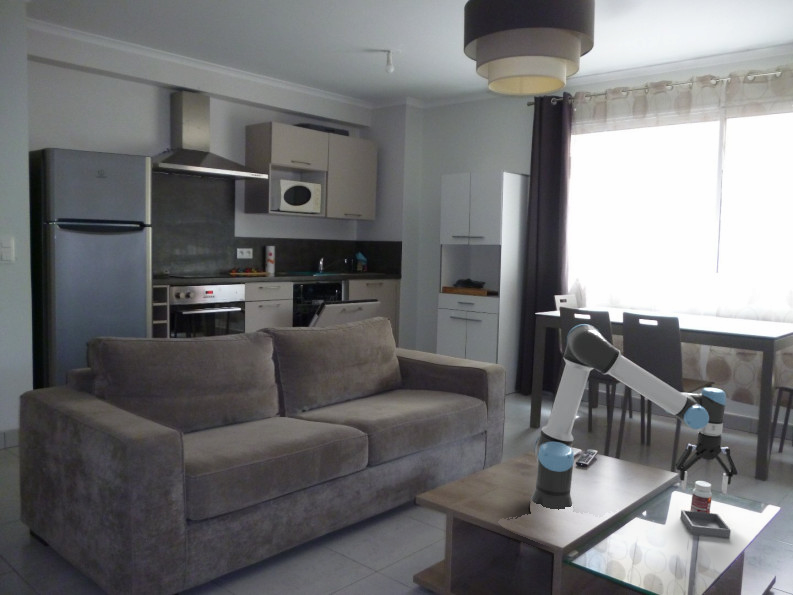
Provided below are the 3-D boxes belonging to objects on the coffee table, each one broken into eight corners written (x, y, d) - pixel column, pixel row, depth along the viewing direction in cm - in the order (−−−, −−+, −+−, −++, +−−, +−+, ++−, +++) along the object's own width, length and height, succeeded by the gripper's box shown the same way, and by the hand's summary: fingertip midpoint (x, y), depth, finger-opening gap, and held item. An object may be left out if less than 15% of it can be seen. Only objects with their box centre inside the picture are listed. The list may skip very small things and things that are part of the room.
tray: (691, 534, 216) (692, 526, 216) (680, 517, 228) (681, 509, 227) (729, 538, 215) (730, 530, 214) (716, 521, 226) (717, 513, 226)
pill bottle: (710, 519, 228) (714, 488, 226) (691, 516, 230) (695, 485, 228) (707, 512, 234) (711, 481, 232) (689, 508, 236) (692, 478, 234)
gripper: (675, 433, 226) (669, 491, 228) (752, 439, 223) (745, 498, 225) (669, 426, 233) (663, 483, 236) (743, 432, 230) (736, 489, 233)
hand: (703, 490), depth 231 cm, fingers open, 13 cm apart
